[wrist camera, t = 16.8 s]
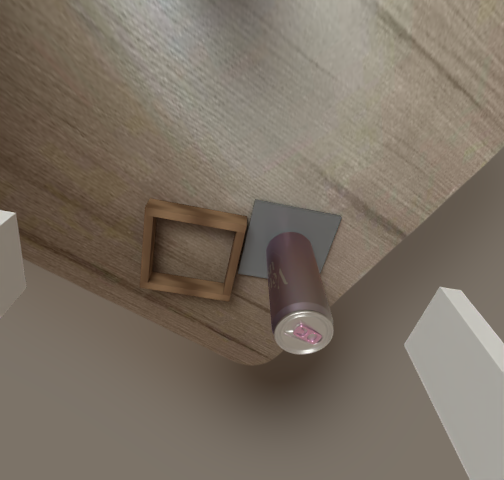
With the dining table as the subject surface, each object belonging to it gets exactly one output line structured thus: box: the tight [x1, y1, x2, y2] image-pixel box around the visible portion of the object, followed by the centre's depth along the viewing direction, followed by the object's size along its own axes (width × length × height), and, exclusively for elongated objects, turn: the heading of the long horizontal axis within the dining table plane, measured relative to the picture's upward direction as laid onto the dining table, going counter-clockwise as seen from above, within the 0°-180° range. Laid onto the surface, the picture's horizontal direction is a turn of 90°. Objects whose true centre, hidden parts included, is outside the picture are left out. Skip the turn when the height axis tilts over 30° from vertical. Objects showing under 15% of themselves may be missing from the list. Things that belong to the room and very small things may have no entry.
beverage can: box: [266, 232, 333, 354], centre depth 40 cm, size 6×6×15 cm
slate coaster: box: [238, 199, 341, 278], centre depth 46 cm, size 11×11×1 cm
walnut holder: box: [140, 198, 247, 301], centre depth 46 cm, size 12×12×2 cm
